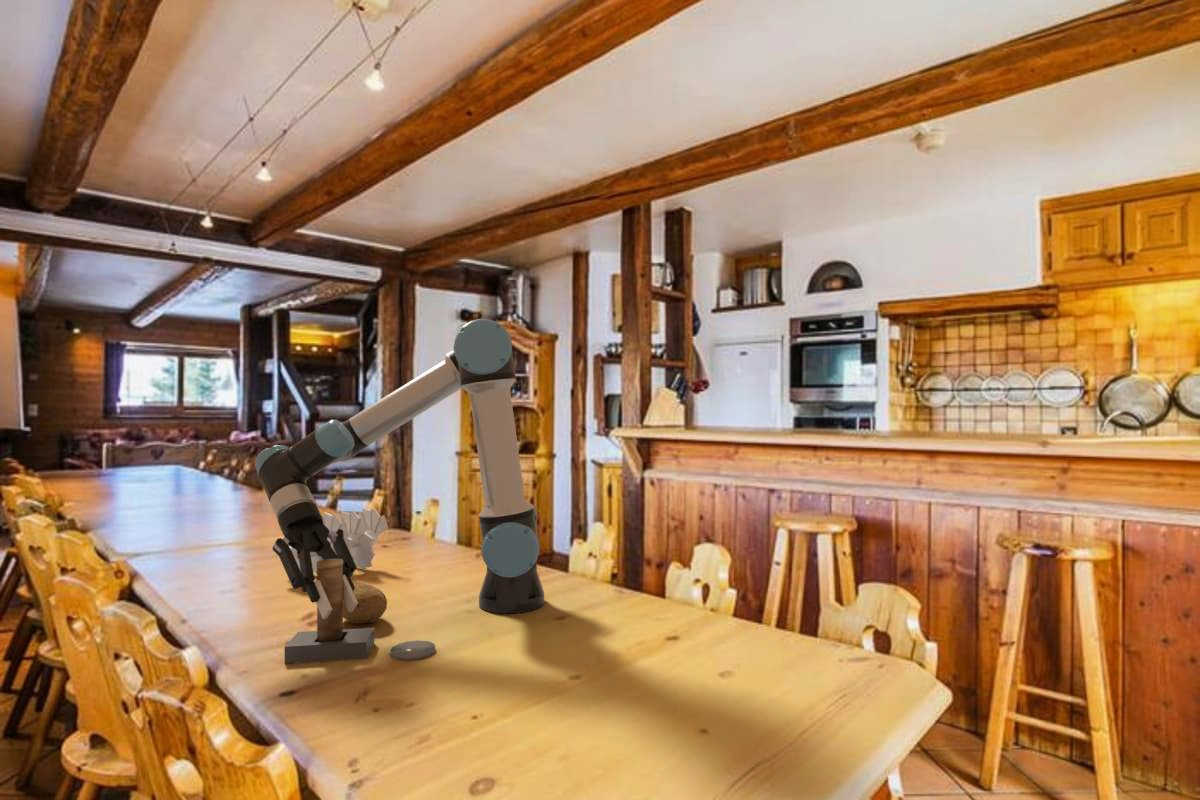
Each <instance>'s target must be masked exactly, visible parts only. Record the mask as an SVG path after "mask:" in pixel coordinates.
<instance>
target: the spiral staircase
mask: <svg viewBox="0 0 1200 800" xmlns="http://www.w3.org/2000/svg"><path fill="white" fill-rule="evenodd" d="M321 516H322V519H323V524H324V525H325V526H326V527H327V528H328V529H329V531H335V532H337V530H338V529H342V530H343V534H344V540H345V543H346V545H347V547H348V549H349V552H350V554H351V556H352V558H353V560H354V563H355V565H356V568H357V567H358V568H360V569H361V570H362V569H363V570H362V571H364V570H365V569H367V568H370V567H373V564H372V560H373V558H374V557H375V555H376V553H375V552H374V549H373V546H374V543H376V542H377V541H378V539H379V536H380V535H381V534H382V533H384V532H385V531H387V530H389V526H388V523H387V519H386V516H385V514H383V515H380V514H379V512H378V511H377V509H376V507H372V509H369V508H364V507H363V508H362V511H360V512H359V513H356V511H355V510H354V509H351V510H350V512H346V511H341V515H339V516H338V515H337V512H334V513H333V515H332V514H331V513H328V512H326V511H323V515H321ZM327 540H328V541H329V542H330V545H331V548H332V549H333V551H334V552H335V549H334V547H333V543H331V540H330V538H328V537H327ZM289 547H290V549H291V551H292V553H293V555H294V558H295V560H296V562H297V564H298V566H299V569H300V563H299V559H298V557H297V550H296V549H294V548H292V547H291V546H289ZM335 553H336V552H335ZM310 555H311V561H312V567H313V573H315V574H316V575H317V562H318V561H320V560H323V559H322V557H321V556H320V557H319V556H318V555H317V553H316V552H310ZM300 571H301V570H300ZM365 571H366V570H365Z"/></svg>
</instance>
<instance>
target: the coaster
mask: <svg viewBox="0 0 1200 800" xmlns="http://www.w3.org/2000/svg"><path fill="white" fill-rule="evenodd" d="M435 652H436V645H435V643H434V642H432V641H429V640H421V639H420V640H419V639H418V640H407V641H404V642H400V643H397V644H395V645H394V646H392V647H391V649H390V657H391V658H393V659H395V660H399V661H414V660H415V661H416V660H422V659H425V658H428V657H430V656H432V655H433V654H434V653H435Z"/></svg>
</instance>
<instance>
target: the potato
mask: <svg viewBox="0 0 1200 800" xmlns="http://www.w3.org/2000/svg"><path fill="white" fill-rule="evenodd" d="M352 583H353V584H354V587H355V589H354V591H353V593H354V595H355V597H356V599H357V601H358V604H357V606H356V607H355V609H354V610H353V612H349V611H348V609H347V607H346V605H345V603H344V600H343V618H344V619H345V620H347V621H348V622H350V623H352V624H365V623H367V624H372V623H373V622H375V621H376V620H378V619H381V618H382V616H383V615H384V613H385V612H386V610H387V606H388V599H387V597H386V594H384V592H383V591H381V589H380V588H377V587H376V586H373V585H371V584H368V583H365V582H361V581H357V580H354V581H353V580H352Z"/></svg>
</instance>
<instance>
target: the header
mask: <svg viewBox="0 0 1200 800" xmlns="http://www.w3.org/2000/svg"><path fill="white" fill-rule="evenodd" d="M374 645H375V627H368V628H367V627H366V628H365V627H364V628H348V629H346V628H345V629H343V636H342V638H340V639H337V640H334V641H326V642H324V641H318V640H317V630H308V631H307V630H306V631H297V632H296V633H295V635H293V637H292V638H291V639H290V640H289V641H288V642H287V643H286V645H284V664H299V663H300V664H302V662H303V663H316V662H317V663H319V661H320V662H333V661H334V662H335V661H350V660H351V659H354V660H366V659H368V656H369V655H370V653H371V651H372V649H373V647H374ZM368 654H369V655H368ZM351 661H352V660H351Z"/></svg>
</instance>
